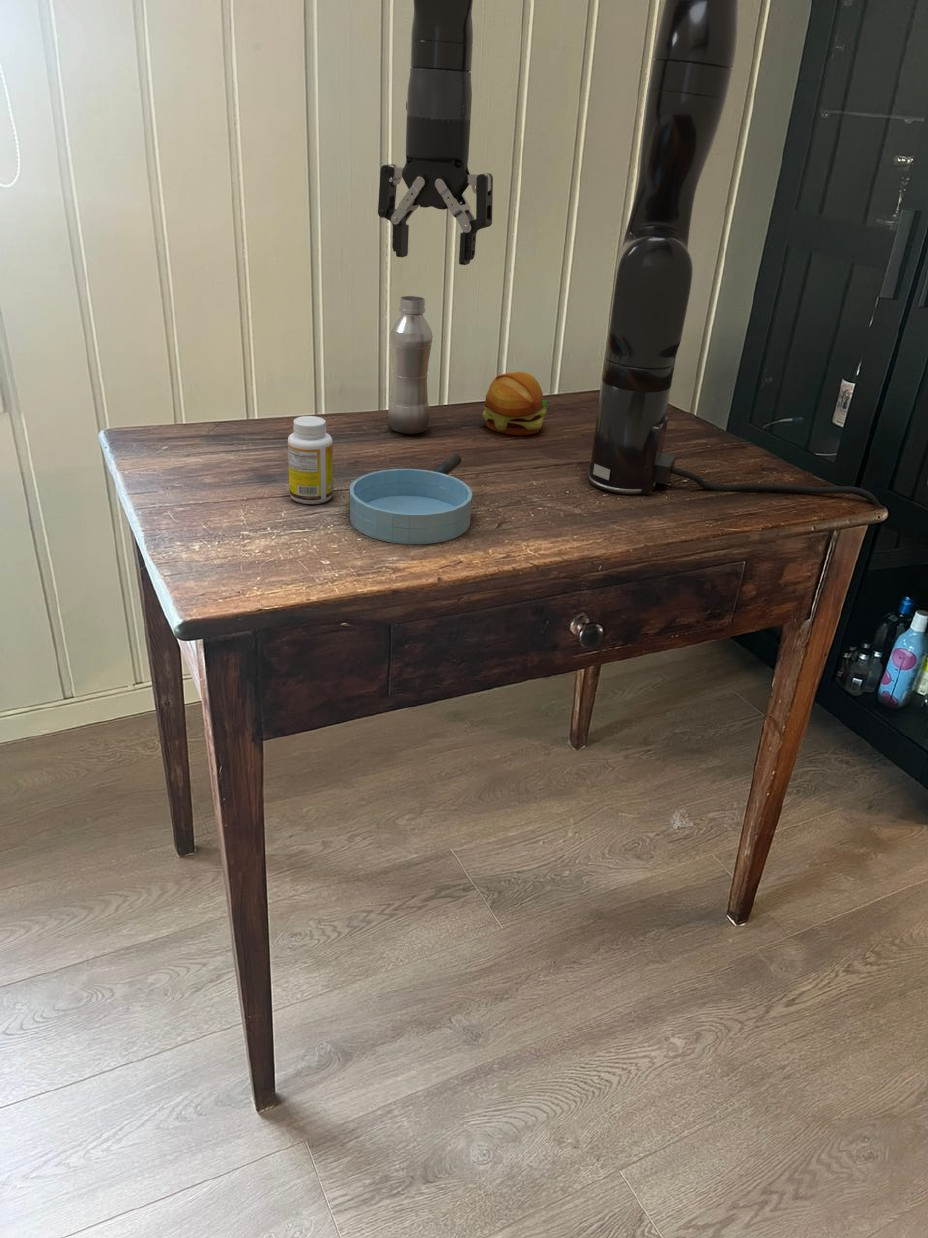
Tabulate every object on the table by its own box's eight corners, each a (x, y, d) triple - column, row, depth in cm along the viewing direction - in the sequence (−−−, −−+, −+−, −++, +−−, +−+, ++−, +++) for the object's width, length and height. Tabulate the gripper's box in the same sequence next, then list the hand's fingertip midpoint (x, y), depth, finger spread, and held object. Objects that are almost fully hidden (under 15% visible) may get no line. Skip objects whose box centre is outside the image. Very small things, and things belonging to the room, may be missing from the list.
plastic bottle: (396, 439, 144) (399, 303, 134) (381, 426, 149) (383, 294, 139) (435, 436, 146) (441, 302, 136) (419, 423, 151) (424, 293, 142)
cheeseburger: (550, 420, 156) (555, 365, 149) (538, 455, 149) (543, 399, 142) (490, 412, 158) (492, 357, 151) (475, 446, 150) (477, 390, 143)
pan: (486, 509, 122) (489, 482, 120) (443, 554, 110) (444, 524, 108) (381, 488, 126) (381, 461, 125) (327, 528, 114) (327, 499, 112)
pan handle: (438, 484, 123) (439, 473, 122) (427, 482, 123) (428, 471, 122) (462, 464, 130) (463, 453, 129) (451, 462, 130) (452, 451, 129)
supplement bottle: (320, 486, 125) (319, 411, 120) (340, 501, 122) (340, 423, 117) (281, 494, 122) (279, 416, 117) (301, 509, 119) (300, 430, 114)
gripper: (506, 118, 112) (495, 263, 120) (396, 109, 116) (393, 250, 124) (484, 118, 106) (475, 271, 114) (369, 109, 110) (368, 257, 118)
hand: (432, 260), depth 119 cm, fingers open, 8 cm apart
